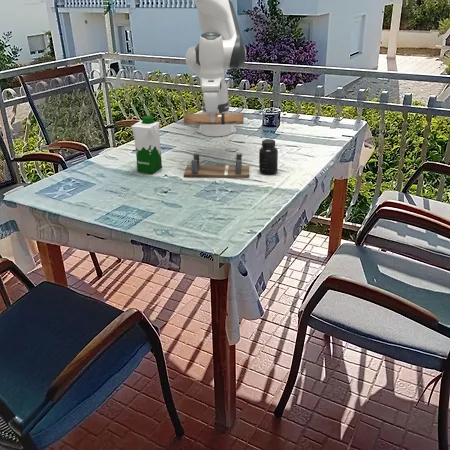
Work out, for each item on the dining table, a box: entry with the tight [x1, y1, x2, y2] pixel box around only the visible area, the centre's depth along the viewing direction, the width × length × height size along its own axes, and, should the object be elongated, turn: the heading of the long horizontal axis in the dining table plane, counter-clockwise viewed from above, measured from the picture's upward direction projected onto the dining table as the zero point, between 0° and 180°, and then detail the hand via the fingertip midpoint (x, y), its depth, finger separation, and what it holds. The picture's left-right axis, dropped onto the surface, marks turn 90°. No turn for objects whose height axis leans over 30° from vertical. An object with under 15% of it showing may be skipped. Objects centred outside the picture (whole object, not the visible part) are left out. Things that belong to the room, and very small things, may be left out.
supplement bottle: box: [258, 138, 279, 176], centre depth 176 cm, size 7×7×12 cm
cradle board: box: [183, 164, 251, 179], centre depth 178 cm, size 10×24×1 cm, turn 87°
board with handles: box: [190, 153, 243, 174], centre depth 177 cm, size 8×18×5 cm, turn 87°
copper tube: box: [183, 112, 245, 126], centre depth 177 cm, size 22×4×4 cm, turn 87°
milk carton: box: [130, 115, 163, 175], centre depth 177 cm, size 9×9×20 cm
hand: (213, 119), depth 177 cm, fingers closed on copper tube, 4 cm apart
